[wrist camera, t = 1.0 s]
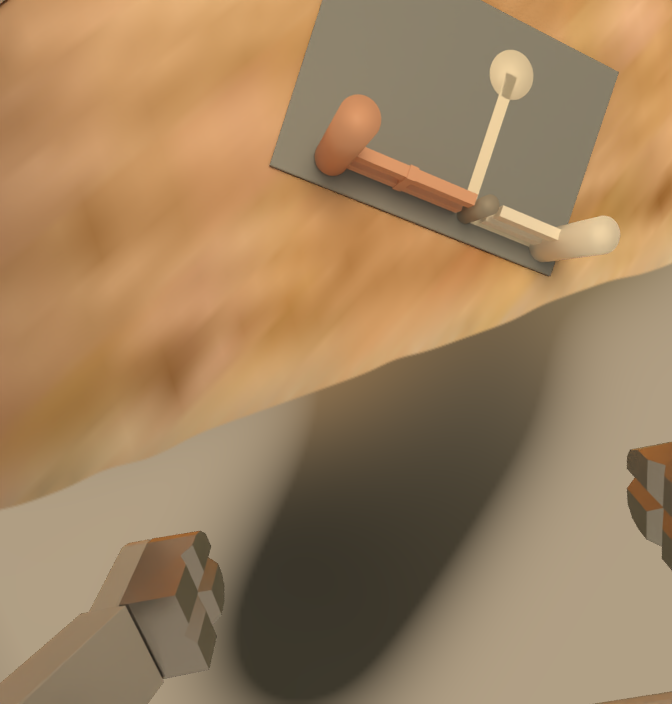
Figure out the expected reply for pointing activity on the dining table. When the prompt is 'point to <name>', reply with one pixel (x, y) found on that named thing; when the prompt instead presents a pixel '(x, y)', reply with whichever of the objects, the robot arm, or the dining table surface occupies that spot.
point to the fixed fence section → (546, 231)
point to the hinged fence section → (379, 157)
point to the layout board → (452, 110)
